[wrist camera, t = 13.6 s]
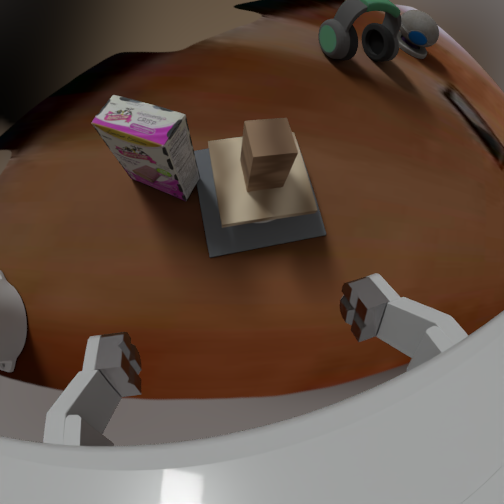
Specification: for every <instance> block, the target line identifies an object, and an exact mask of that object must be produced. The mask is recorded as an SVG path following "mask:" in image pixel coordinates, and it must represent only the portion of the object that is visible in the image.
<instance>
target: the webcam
mask: <svg viewBox="0 0 504 504" xmlns="http://www.w3.org/2000/svg"><path fill="white" fill-rule="evenodd" d="M400 31H401V32H400ZM400 31H399V32H398V34H397V38H398V41H399V48H401V49H402V50H403V51H405V52H406V53H408V54H410V55H412V56H414V57H416V58H420V59H424V58H425V57H426V55H427V51H426V49H425V47H429V46H432V45H433V44H435V43H436V41H437V40H438V37H439V29H438V26H437V24H436V22H435V21H434V20H433V19H432V18H431V17H430V16H429V15H428V14H426V13H424V12H422V11H418V10H410V11H407V12H405V13H404V14H403V15H402V16H401V27H400Z"/></svg>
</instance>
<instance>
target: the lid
mask: <svg viewBox="0 0 504 504" xmlns="http://www.w3.org/2000/svg"><path fill="white" fill-rule="evenodd" d="M208 147H209V153H210V159H211V166H212V172H213V178H214V184H215V190H216V196H217V202H218V208H219V213H220V219H221V225H222V228H224V227H230V226H236V225H242V224H248V223H254V222H260V221H267V220H273V219H280V218H286V217H293V216H300V215H307V214H314V213H316V212H317V206H316V203H315V199H314V196H313V192H312V189H311V185H310V182H309V178H308V175H307V172H306V168H305V165H304V162H303V159H302V156H301V152H300V149H299V146H298V143H297V140H296V137H295V134H294V132H291V129H290V126H289V123H288V120H287V118H276V119H263V120H251V121H244V130H243V137H237V138H229V139H222V140H215V141H208Z"/></svg>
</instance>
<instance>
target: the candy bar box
mask: <svg viewBox="0 0 504 504" xmlns="http://www.w3.org/2000/svg"><path fill="white" fill-rule="evenodd" d="M92 125H93V126H94V127H95V129H96V130H97V132H98V133H99V135H100V136H101V137H102V139H103V140H104V142H105V143H106V145H107V146H108V147H109V149H110V150H111V151H112V153H113V154H114V155H115V157H116V158H117V160H118V161H119V162H120V164H121V165H122V167H123V168H124V169H125V171H126V172H127V174H128V175H129V176H130V178H131V179H134V180H136V181H139V182H141V183H143V184H146V185H149V186H151V187H153V188H156V189H158V190H160V191H163V192H165V193H168V194H170V195H172V196H175V197H177V198H179V199H182V200H184V201H187V199H188V198H189V196H190V194H191V192H192V190H193V188H194V187H195V185H196V184H197V182H198V180H199V179H200V175H199V171H198V167H197V163H196V159H195V154H194V150H193V146H192V141H191V137H190V133H189V128H188V124H187V119H186V115H185V114H182V113H179V112H175V111H172V110H169V109H165V108H162V107H158V106H155V105H151V104H147V103H144V102H140V101H136V100H132V99H128V98H124V97H120V96H116V95H113V96H112V97H111V98H110V100H109V101H108V102H107V103H106V105H105V106H104V107H103V108H102V110H101V111H100V113H99V114H97V115H96V117H95V118H94V120H93V121H92Z"/></svg>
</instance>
